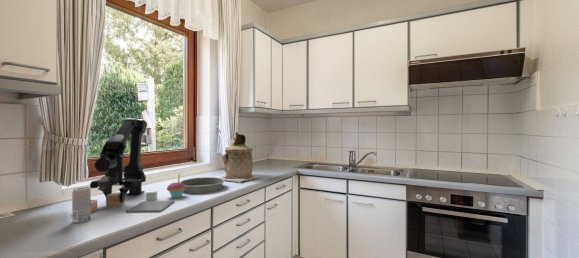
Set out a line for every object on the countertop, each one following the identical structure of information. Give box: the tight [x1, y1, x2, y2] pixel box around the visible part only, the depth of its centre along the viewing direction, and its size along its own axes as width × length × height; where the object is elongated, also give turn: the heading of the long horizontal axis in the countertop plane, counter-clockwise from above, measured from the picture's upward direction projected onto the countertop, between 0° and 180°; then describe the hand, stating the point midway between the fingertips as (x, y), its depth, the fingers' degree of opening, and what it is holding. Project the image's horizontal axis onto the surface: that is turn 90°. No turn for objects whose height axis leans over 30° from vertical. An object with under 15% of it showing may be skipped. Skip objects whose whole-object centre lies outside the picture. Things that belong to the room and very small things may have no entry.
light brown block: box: [91, 199, 98, 214], centre depth 108 cm, size 7×7×4 cm
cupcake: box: [166, 173, 186, 199], centre depth 131 cm, size 9×8×12 cm
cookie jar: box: [213, 131, 263, 184], centre depth 178 cm, size 25×25×32 cm
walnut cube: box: [105, 191, 125, 208], centre depth 117 cm, size 5×5×5 cm
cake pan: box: [180, 176, 225, 194], centre depth 148 cm, size 25×25×4 cm
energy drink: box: [71, 186, 92, 224], centre depth 97 cm, size 5×5×12 cm
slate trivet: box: [125, 200, 175, 213], centre depth 114 cm, size 14×14×1 cm
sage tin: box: [145, 189, 158, 201], centre depth 126 cm, size 4×4×4 cm
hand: (115, 202), depth 117 cm, fingers closed on walnut cube, 5 cm apart
